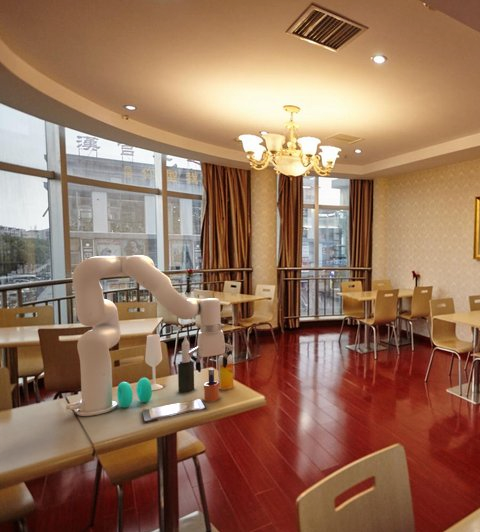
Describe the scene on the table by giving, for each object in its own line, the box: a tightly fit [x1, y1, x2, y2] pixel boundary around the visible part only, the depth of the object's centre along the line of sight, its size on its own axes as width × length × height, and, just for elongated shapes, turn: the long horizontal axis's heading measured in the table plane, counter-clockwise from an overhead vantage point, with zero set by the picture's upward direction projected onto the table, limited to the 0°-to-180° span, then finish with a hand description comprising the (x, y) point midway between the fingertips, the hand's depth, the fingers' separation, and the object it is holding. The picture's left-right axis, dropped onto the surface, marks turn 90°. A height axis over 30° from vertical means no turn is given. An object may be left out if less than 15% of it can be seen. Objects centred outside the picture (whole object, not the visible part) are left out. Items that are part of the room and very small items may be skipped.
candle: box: [177, 335, 195, 394], centre depth 171 cm, size 5×5×25 cm
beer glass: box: [217, 353, 234, 391], centre depth 176 cm, size 6×6×15 cm
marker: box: [207, 368, 215, 385], centre depth 162 cm, size 2×2×12 cm
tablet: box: [142, 398, 206, 424], centre depth 151 cm, size 20×12×1 cm, turn 127°
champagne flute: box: [144, 333, 164, 391], centre depth 176 cm, size 7×7×24 cm
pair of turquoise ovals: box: [116, 377, 153, 409], centre depth 157 cm, size 10×10×10 cm
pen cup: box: [203, 380, 220, 402], centre depth 162 cm, size 5×5×7 cm
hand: (212, 369), depth 162 cm, fingers open, 9 cm apart
